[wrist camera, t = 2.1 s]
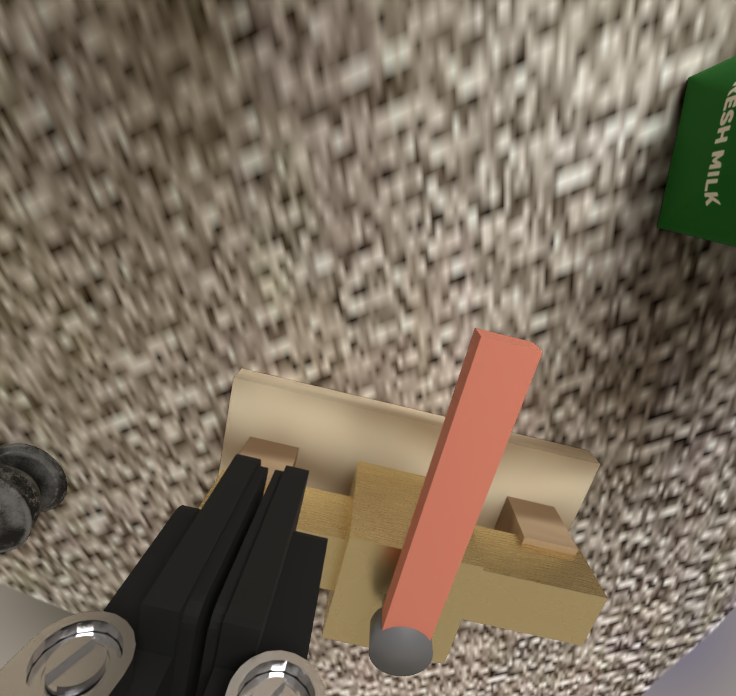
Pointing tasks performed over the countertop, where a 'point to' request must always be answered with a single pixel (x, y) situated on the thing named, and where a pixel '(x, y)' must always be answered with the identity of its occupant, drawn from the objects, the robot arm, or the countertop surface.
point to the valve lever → (452, 498)
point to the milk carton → (704, 159)
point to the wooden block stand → (471, 584)
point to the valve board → (400, 452)
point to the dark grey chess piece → (26, 491)
